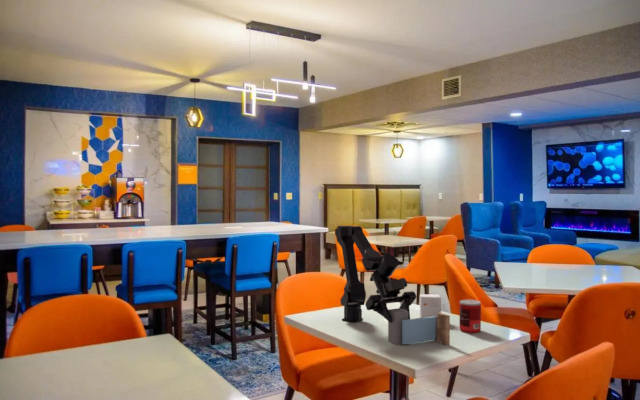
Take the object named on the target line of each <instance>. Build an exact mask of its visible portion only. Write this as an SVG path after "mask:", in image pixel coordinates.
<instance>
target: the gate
mask: <svg viewBox="0 0 640 400" xmlns="http://www.w3.org/2000/svg"><path fill="white" fill-rule="evenodd" d="M428 341H429V342H430V341H436V342H437V316H432V317H424V318H420V317H417V318H410V319H408V320H402V344H401V345H408V344H409V345H410V344H415V343H416V344H417V343H422V342H423V343H424V342H428Z"/></svg>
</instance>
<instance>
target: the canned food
mask: <svg viewBox="0 0 640 400" xmlns="http://www.w3.org/2000/svg"><path fill="white" fill-rule="evenodd" d="M481 303H482V302H481V301H479V300H477V299H462V300H459V330H460V332H463V333H466V334H478V333H480V332H481V329H482V328H481V326H482V325H481V323H482V322H481V321H482V318H481V317H482V305H481Z"/></svg>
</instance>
